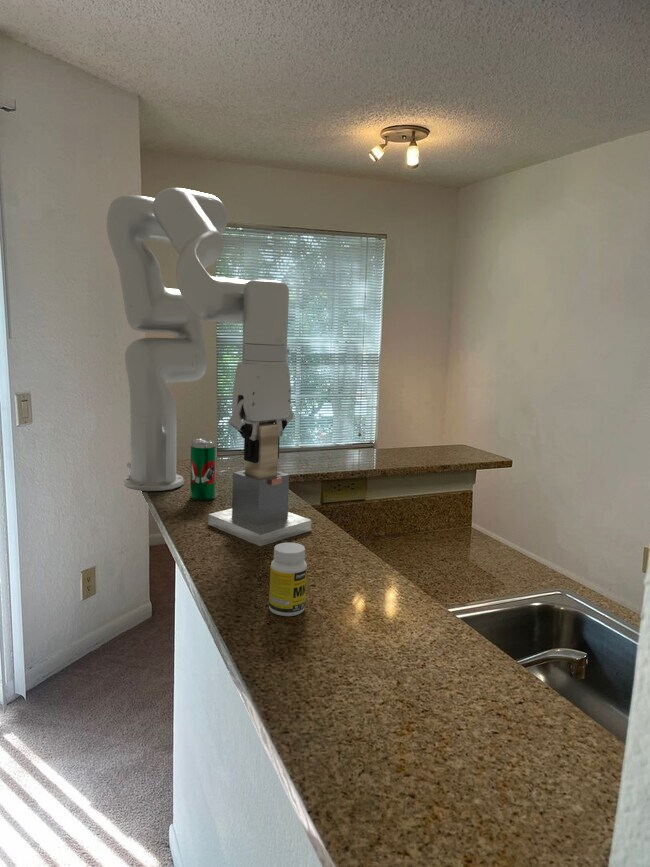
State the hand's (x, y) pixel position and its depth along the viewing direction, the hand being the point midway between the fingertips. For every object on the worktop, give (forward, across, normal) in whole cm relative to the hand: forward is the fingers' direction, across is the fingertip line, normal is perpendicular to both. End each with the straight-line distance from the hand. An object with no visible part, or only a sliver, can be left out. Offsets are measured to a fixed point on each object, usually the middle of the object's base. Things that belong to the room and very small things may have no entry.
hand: (261, 458), depth 109 cm
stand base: (+13, 0, 0) cm, 13 cm away
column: (+10, 0, 0) cm, 10 cm away
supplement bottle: (+13, +18, +26) cm, 34 cm away
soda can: (+13, -3, -21) cm, 25 cm away
